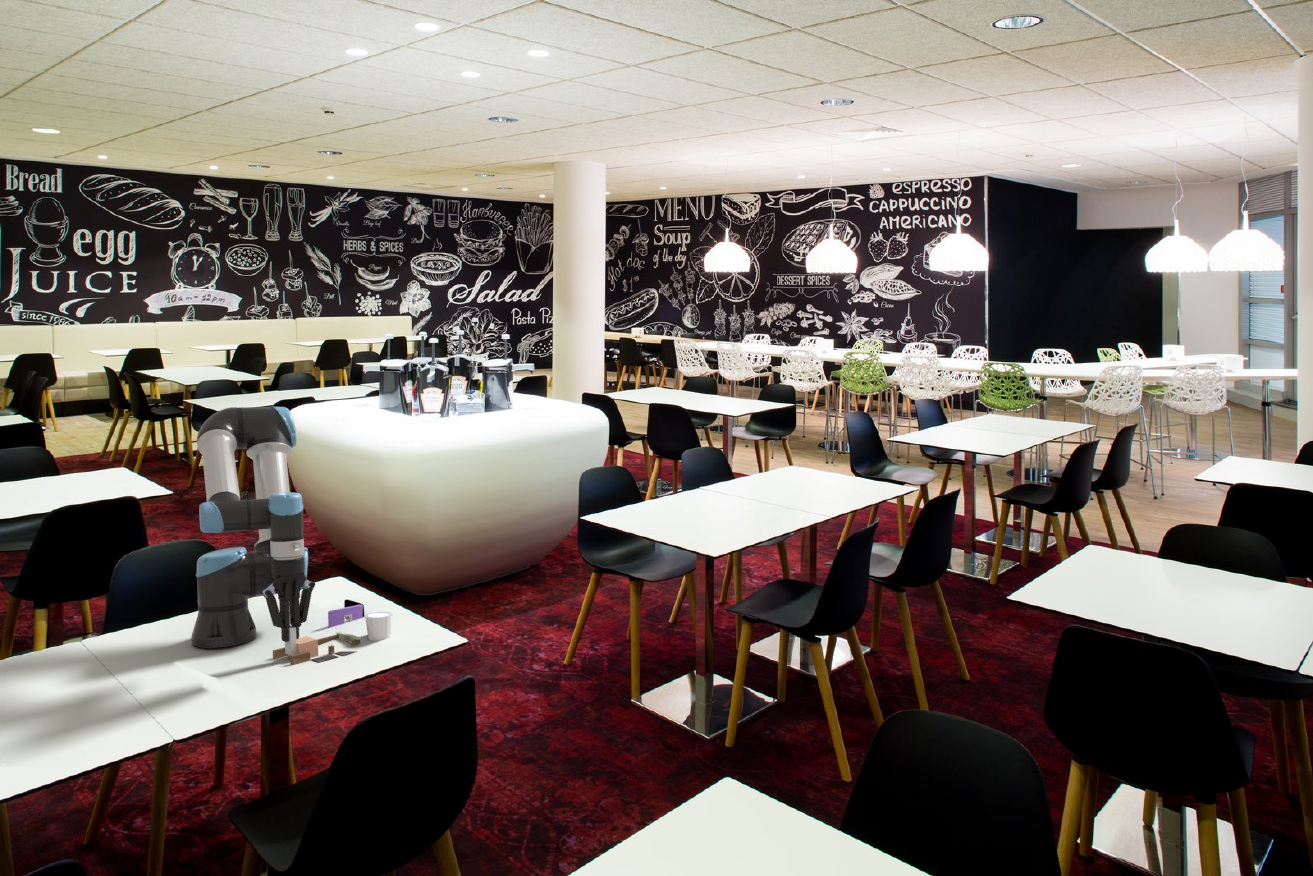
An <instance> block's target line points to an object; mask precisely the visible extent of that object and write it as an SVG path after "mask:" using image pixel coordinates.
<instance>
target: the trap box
mask: <svg viewBox="0 0 1313 876" xmlns="http://www.w3.org/2000/svg"><path fill="white" fill-rule="evenodd" d="M316 639H317V638H316ZM338 639H341V640H344V641H346V642H348V643H350V644H351V646H352V647H357V646H359V645H361V640H362V639H361V637H360V636H359V635H358V636H357V635H354V634H350V633H346V632H343V631H338V632H336V634H333V635H330V636H326V637H321V638H318V639H317V640H318V646H321V645H324V644H326V643H329V642H332V641H334V640H338ZM327 648H328V649H327V653H328V654H326V655H323V656H317V657H315V658H314V657H313V658H310V652H304V653H300V654H296V655H292V656H291V658H290V665H292V666H294V665H298V664H301V663H305V662H310V661H313V662H316V663H323V662H326V661H327V662H328V661H330V660H334V659H337V658H339V656H342V657H345V656H348V655H353V654H354V653H355V654H356V653H357V652H358V651H357V650H353V651H352V650H351V651H338V652H335V645H331V644H330V645H328V646H327ZM286 657H288V654H285V646H284V647H281V648H277V649H273V650H272V659H273V660H277V659H281V658H286Z"/></svg>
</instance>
